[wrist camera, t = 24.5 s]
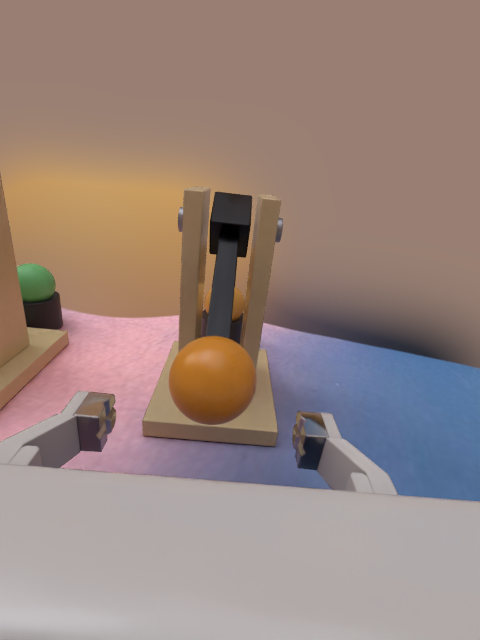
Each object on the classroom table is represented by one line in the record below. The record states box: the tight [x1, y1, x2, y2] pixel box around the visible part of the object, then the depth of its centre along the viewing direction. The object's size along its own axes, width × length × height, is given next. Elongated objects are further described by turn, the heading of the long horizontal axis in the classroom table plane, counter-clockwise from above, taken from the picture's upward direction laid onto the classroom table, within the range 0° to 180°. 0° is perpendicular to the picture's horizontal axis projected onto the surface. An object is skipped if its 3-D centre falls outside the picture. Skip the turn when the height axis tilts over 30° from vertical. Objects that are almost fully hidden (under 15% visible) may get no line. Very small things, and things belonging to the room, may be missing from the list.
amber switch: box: [169, 192, 257, 425], centre depth 16 cm, size 13×4×4 cm
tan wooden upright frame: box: [142, 187, 283, 446], centre depth 21 cm, size 10×8×14 cm
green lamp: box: [17, 264, 63, 330], centre depth 29 cm, size 4×4×6 cm
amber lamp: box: [201, 287, 245, 345], centre depth 30 cm, size 4×4×6 cm
